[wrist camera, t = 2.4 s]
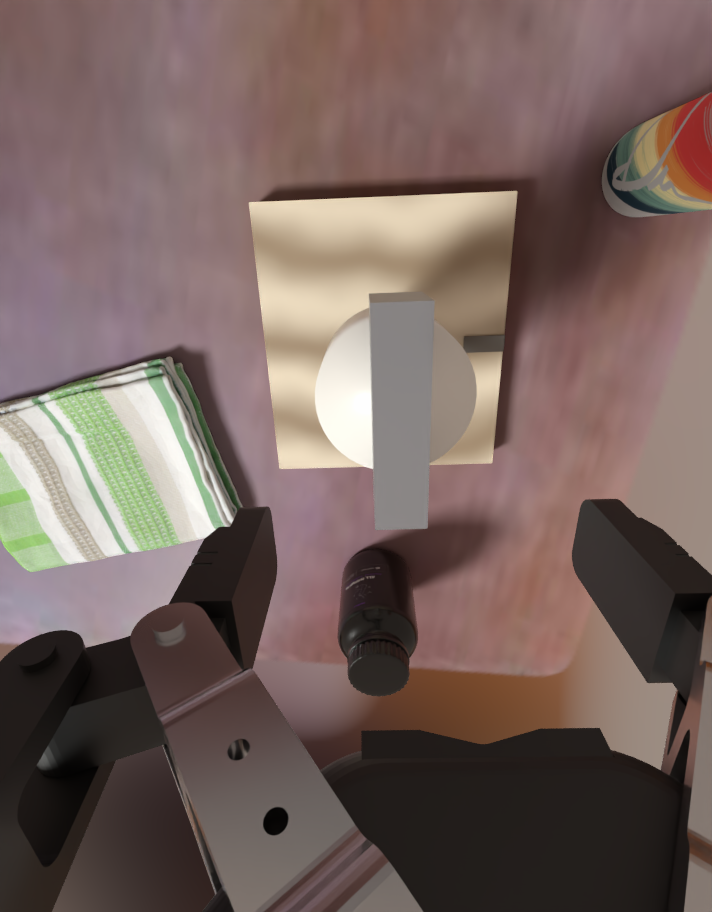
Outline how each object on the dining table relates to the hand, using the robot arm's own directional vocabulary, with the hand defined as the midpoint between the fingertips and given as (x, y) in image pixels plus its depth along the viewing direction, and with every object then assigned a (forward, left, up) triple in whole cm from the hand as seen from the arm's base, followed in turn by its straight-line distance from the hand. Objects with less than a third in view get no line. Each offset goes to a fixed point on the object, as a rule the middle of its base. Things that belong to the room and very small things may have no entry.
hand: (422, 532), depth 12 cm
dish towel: (+11, -26, -28) cm, 40 cm away
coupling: (0, 0, -17) cm, 17 cm away
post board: (0, 0, -27) cm, 27 cm away
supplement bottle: (+23, -1, -27) cm, 36 cm away
